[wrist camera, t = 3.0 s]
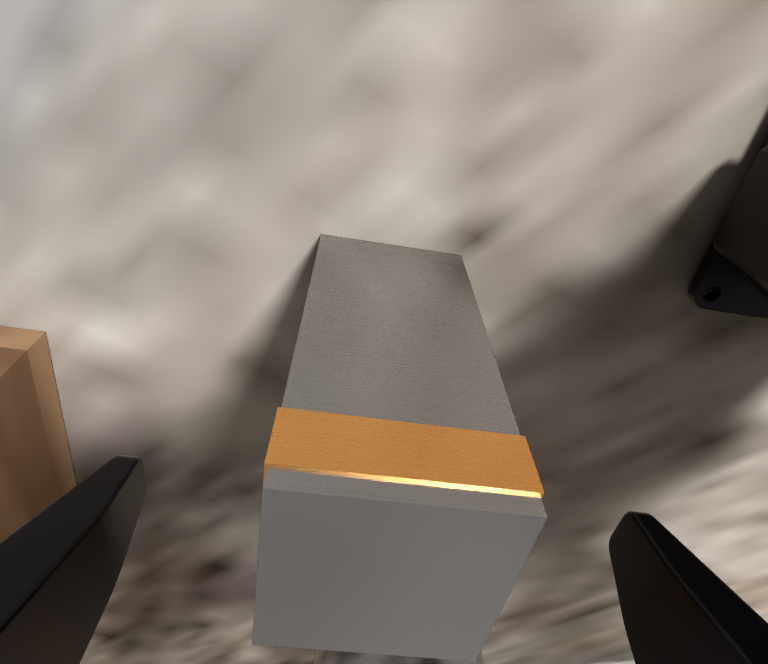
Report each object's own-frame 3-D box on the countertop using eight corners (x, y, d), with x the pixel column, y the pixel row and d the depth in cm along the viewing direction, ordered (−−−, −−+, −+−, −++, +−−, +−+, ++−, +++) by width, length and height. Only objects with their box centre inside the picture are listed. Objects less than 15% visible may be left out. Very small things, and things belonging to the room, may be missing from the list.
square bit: (463, 254, 15) (552, 515, 7) (432, 368, 17) (477, 662, 10) (319, 232, 15) (258, 485, 7) (306, 352, 17) (248, 646, 9)
